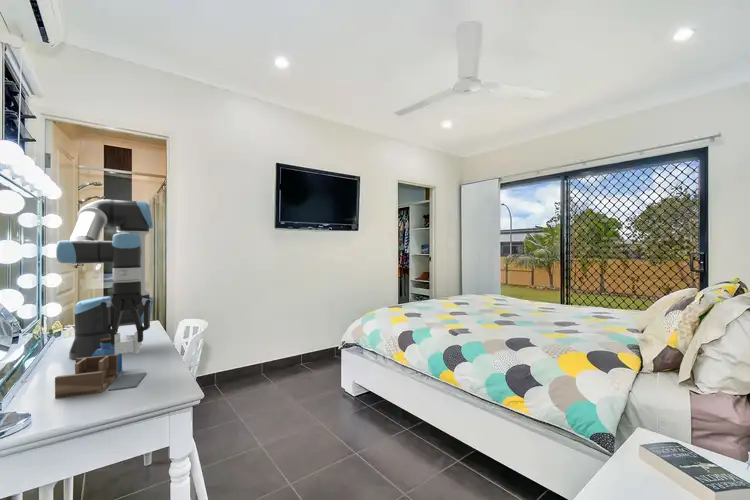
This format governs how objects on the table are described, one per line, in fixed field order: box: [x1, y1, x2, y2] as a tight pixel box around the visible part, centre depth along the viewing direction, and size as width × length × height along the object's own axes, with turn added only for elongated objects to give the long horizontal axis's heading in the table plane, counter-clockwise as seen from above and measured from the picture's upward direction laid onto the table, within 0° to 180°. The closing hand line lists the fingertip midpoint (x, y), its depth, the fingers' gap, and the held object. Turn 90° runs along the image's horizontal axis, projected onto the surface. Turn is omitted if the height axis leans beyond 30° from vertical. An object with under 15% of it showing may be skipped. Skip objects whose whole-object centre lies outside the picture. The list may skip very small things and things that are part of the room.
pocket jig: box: [54, 355, 119, 399], centre depth 108 cm, size 14×11×8 cm
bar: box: [116, 334, 143, 354], centre depth 112 cm, size 10×5×4 cm, turn 21°
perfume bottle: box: [91, 338, 123, 373], centre depth 120 cm, size 6×6×12 cm
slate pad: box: [107, 372, 147, 391], centre depth 111 cm, size 13×7×1 cm, turn 21°
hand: (127, 353), depth 110 cm, fingers closed on bar, 5 cm apart
